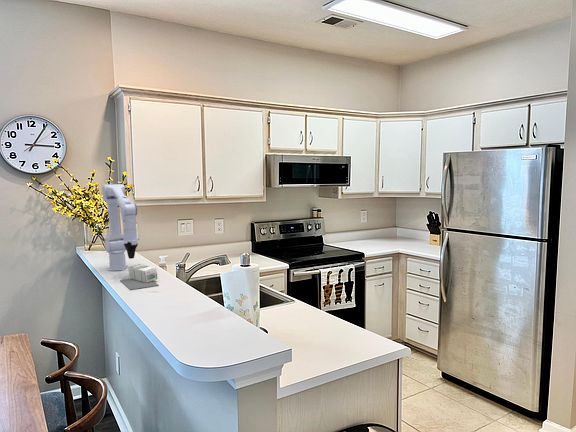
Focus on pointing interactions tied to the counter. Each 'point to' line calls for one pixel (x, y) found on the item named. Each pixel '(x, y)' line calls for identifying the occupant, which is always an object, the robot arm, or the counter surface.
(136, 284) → the mat
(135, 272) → the syrup box
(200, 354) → the counter surface
